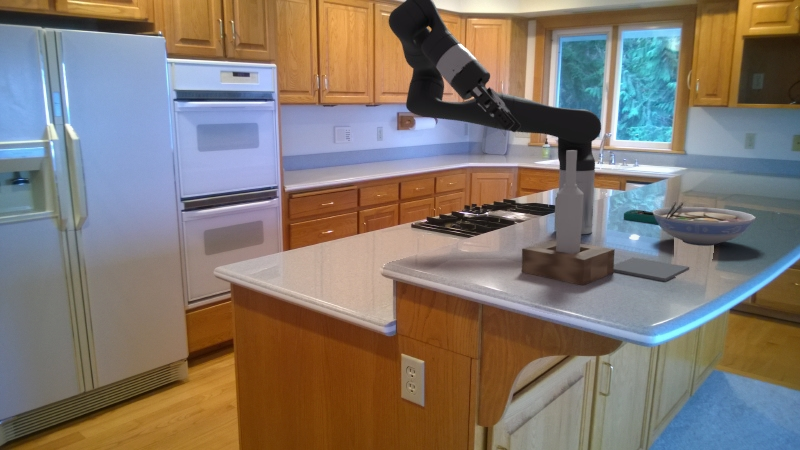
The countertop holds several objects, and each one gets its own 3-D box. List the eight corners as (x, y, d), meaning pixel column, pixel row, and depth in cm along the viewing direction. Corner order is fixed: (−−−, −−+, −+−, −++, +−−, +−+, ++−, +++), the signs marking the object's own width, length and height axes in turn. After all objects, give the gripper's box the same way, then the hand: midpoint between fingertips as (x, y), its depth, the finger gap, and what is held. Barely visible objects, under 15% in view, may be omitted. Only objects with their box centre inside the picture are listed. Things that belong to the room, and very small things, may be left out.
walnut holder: (521, 272, 121) (522, 248, 120) (553, 261, 129) (554, 239, 128) (583, 285, 111) (584, 259, 110) (613, 273, 119) (614, 249, 118)
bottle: (581, 276, 117) (586, 151, 112) (554, 275, 118) (559, 151, 113) (579, 269, 122) (583, 149, 117) (553, 268, 123) (557, 150, 118)
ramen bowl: (751, 258, 129) (755, 222, 127) (641, 248, 140) (643, 214, 139) (754, 238, 149) (757, 206, 148) (658, 230, 161) (660, 201, 160)
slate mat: (606, 270, 121) (606, 267, 121) (632, 260, 129) (633, 257, 129) (664, 281, 112) (665, 278, 112) (689, 269, 120) (689, 266, 120)
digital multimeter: (635, 217, 184) (635, 208, 183) (680, 224, 172) (681, 214, 171) (621, 220, 180) (621, 211, 179) (666, 227, 168) (667, 217, 167)
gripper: (458, 88, 129) (506, 142, 127) (440, 80, 116) (494, 139, 113) (483, 64, 127) (533, 118, 124) (467, 52, 114) (523, 112, 111)
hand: (514, 128), depth 119 cm, fingers open, 8 cm apart
